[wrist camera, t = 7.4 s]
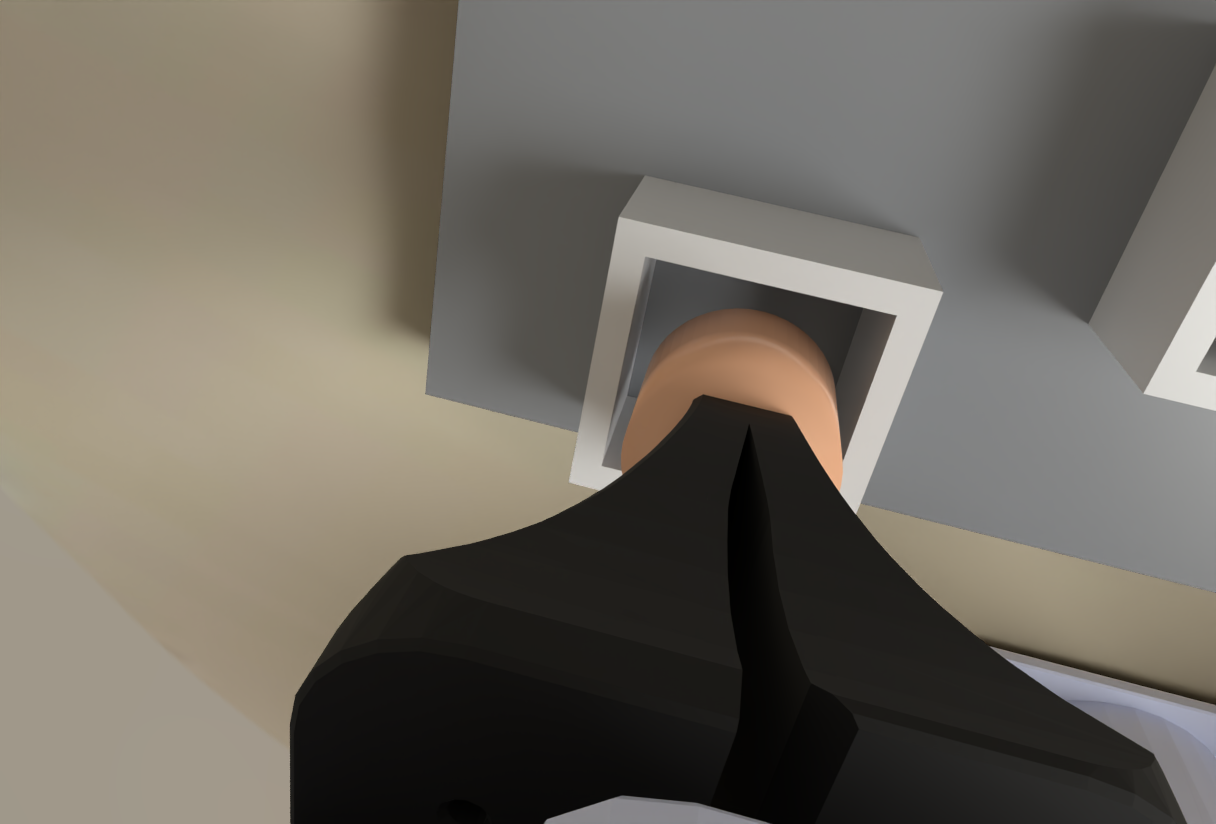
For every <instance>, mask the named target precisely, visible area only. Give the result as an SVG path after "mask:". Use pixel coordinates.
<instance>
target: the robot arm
mask: <svg viewBox="0 0 1216 824" xmlns="http://www.w3.org/2000/svg"><path fill="white" fill-rule="evenodd" d="M290 818H291V819H290V823H291V824H1216V705H1213V704H1210V703H1206V702H1202V701H1198V700H1194V699H1190V698H1187V697H1183V696H1179V695H1175V694H1171V693H1167V692H1163V691H1160V690H1156V689H1152V688H1148V687H1144V686H1140V685H1137V684H1133V683H1129V682H1125V681H1121V680H1117V679H1114V678H1110V677H1106V676H1102V675H1098V674H1094V673H1091V672H1087V671H1083V670H1079V669H1075V668H1071V667H1067V666H1064V665H1060V664H1056V663H1052V662H1048V661H1044V660H1041V659H1037V658H1033V657H1029V656H1025V655H1021V654H1018V653H1014V652H1010V651H1006V650H1002V649H998V648H995V647H991V646H988V645H987V644H985V643H984V642H983V641H981V640H980V639H979V638H978V637H976V636H975V635H974V634H973V633H972V632H971V631H969V630H968V629H967V628H966V627H965V626H964V625H962V624H961V623H960V622H959V621H958V620H956V619H955V618H954V617H953V616H952V615H951V614H949V613H948V612H947V611H946V610H945V609H943V608H942V607H941V606H940V605H939V604H938V603H937V602H936V601H935V600H934V599H932V598H931V597H930V596H929V595H928V594H927V593H926V592H925V591H924V590H923V589H922V588H921V587H920V586H919V585H918V584H917V583H916V582H915V581H914V580H913V579H912V578H911V577H910V576H909V575H908V574H907V573H906V572H905V571H904V570H903V569H902V568H901V567H900V566H899V565H898V564H897V563H896V562H895V561H894V560H893V558H892V557H891V556H890V555H889V554H888V553H887V552H886V551H885V550H884V548H883V547H882V546H881V545H880V544H879V543H878V542H877V540H876V539H875V538H874V537H873V535H872V534H871V533H870V532H869V530H868V529H867V528H866V527H865V525H864V524H863V523H862V522H861V520H860V519H859V518H858V517H857V515H856V514H855V513H854V512H853V510H852V509H851V507H850V506H849V505H848V503H847V502H846V501H845V499H844V498H843V496H842V495H841V494H840V492H839V491H838V489H837V488H836V486H835V485H834V483H833V482H832V480H831V479H830V477H829V476H828V474H827V473H826V471H825V470H824V468H823V467H822V465H821V463H820V462H819V460H818V459H817V457H816V455H815V454H814V452H813V450H812V449H811V447H810V445H809V444H808V442H807V440H806V439H805V437H804V435H803V433H802V432H801V430H800V428H799V427H798V425H797V423H796V422H795V420H794V418H793V417H792V416H790V415H786V414H782V413H778V412H774V411H770V410H765V409H761V408H757V407H753V406H749V405H745V404H741V403H737V402H733V401H729V400H724V399H720V398H716V397H712V396H708V395H704V394H703V395H701V396H699V397H697V398H695V399H693V401H692V404H691V406H690V408H689V409H688V411H687V412H686V414H685V415H684V416H683V418H682V419H681V420H680V421H679V422H678V424H677V425H676V426H675V427H674V428H673V429H672V431H671V432H670V433H669V434H668V435H667V436H666V437H665V438H664V439H663V440H662V441H661V442H660V443H659V444H658V445H657V446H656V447H655V448H654V449H653V450H652V451H650V452H649V453H648V454H647V455H646V456H645V457H644V458H642V459H641V460H640V461H639V462H637V463H636V464H635V465H634V466H633V467H631V468H630V469H629V470H628V471H626V472H625V473H624V474H623V475H621V476H620V477H619V478H617V479H616V480H615V481H613V482H612V483H610V484H609V485H607V486H606V487H604V488H603V489H601V490H600V491H598V492H597V493H595V494H593V495H592V496H590V497H589V498H587V499H585V500H584V501H582V502H580V503H578V504H576V505H575V506H573V507H571V508H569V509H567V510H565V511H563V512H561V513H559V514H557V515H555V516H553V517H550V518H548V519H546V520H544V521H542V522H539V523H537V524H534V525H531V526H528V527H525V528H523V529H520V530H517V531H514V532H511V533H508V534H504V535H501V536H497V537H494V538H491V539H487V540H483V541H480V542H476V543H472V544H467V545H462V546H456V547H451V548H446V549H441V550H436V551H430V552H425V553H420V554H413V555H406V556H403V557H402V558H400V559H399V560H398V561H397V562H396V563H395V564H394V565H393V566H392V568H391V569H390V570H389V571H388V572H387V573H386V574H385V575H384V576H383V577H382V578H381V579H380V580H379V581H378V582H377V583H376V584H375V585H374V587H373V588H372V589H371V590H370V591H369V592H368V593H367V595H366V596H365V597H364V598H363V599H362V600H361V601H360V602H359V603H358V604H357V605H356V606H355V608H354V609H353V610H352V611H351V612H350V614H349V615H348V616H347V617H346V619H345V620H344V621H343V623H342V624H341V625H340V627H339V628H338V629H337V631H336V632H335V634H334V635H333V637H332V639H331V640H330V642H329V643H328V645H327V646H326V648H325V650H324V651H323V653H322V654H321V656H320V657H319V659H318V661H317V662H316V664H315V665H314V667H313V668H312V670H311V672H310V673H309V675H308V676H307V678H306V679H305V681H304V683H303V684H302V686H301V687H300V689H299V690H298V692H297V694H296V695H295V700H294V706H293V711H292V716H291V722H290Z"/></svg>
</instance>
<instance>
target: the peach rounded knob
mask: <svg viewBox="0 0 1216 824" xmlns="http://www.w3.org/2000/svg"><path fill="white" fill-rule="evenodd" d="M703 394H704V395H708V396H712V397H716V398H720V399H724V400H729V401H733V402H737V403H741V404H745V405H749V406H753V407H757V408H761V409H765V410H770V411H774V412H778V413H782V414H786V415H790V416H792V417H793V418H794V420H795V422H796V423H797V425H798V427H799V428H800V430H801V432H802V433H803V435H804V437H805V439H806V440H807V442H808V444H809V445H810V447H811V449H812V450H813V452H814V454H815V455H816V457H817V459H818V460H819V462H820V463H821V465H822V467H823V468H824V470H825V471H826V473H827V474H828V476H829V477H830V479H831V480H832V482H833V483H834V485H835V486H836V488H837V489H838V491H840V488H841V483H842V475H843V460H842V450H841V440H840V430H839V420H838V410H837V401H836V391H835V384H834V378H833V374H832V371H831V368H830V366H829V363H828V361H827V359H826V358H825V356H824V354H823V352H822V351H821V350H820V348H819V347H818V345H817V344H816V343H815V342H814V341H813V340H812V339H811V338H810V337H809V336H808V335H807V334H806V333H805V332H804V331H802V330H801V329H800V328H799V327H797V326H795V325H794V324H792V323H790V322H789V321H787V320H785V319H783V318H780V317H778V316H776V315H773V314H770V313H766V312H763V311H758V310H752V309H738V308H735V309H723V310H718V311H712V312H709V313H706V314H703V315H700V316H697V317H695V318H693V319H691V320H689V321H687V322H685V323H684V324H682V325H681V326H679V327H678V328H676V329H675V330H674V331H673V332H672V333H670V334H669V335H668V336H667V337H666V338H665V340H664V341H663V342H662V343H661V344H660V345H659V347H658V348H657V350H656V351H655V353H654V355H653V357H652V359H651V361H650V363H649V366H648V369H647V371H646V374H645V377H644V380H643V383H642V386H641V389H640V392H639V395H638V398H637V401H636V404H635V407H634V410H633V413H632V416H631V419H630V421H629V424H628V427H627V430H626V434H625V437H624V440H623V444H622V451H621V469H622V475H623V474H624V473H625V472H626V471H628V470H629V469H630V468H631V467H633V466H634V465H635V464H636V463H637V462H639V461H640V460H641V459H642V458H644V457H645V456H646V455H647V454H648V453H649V452H650V451H652V450H653V449H654V448H655V447H656V446H657V445H658V444H659V443H660V442H661V441H662V440H663V439H664V438H665V437H666V436H667V435H668V434H669V433H670V432H671V431H672V429H673V428H674V427H675V426H676V425H677V424H678V422H679V421H680V420H681V419H682V418H683V416H684V415H685V414H686V412H687V411H688V409H689V408H690V406H691V404H692V401H693V399H695V398H697V397H699V396H701V395H703Z"/></svg>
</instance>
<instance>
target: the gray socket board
mask: <svg viewBox="0 0 1216 824" xmlns="http://www.w3.org/2000/svg"><path fill="white" fill-rule="evenodd" d="M735 308H738V309H752V310H758V311H763V312H766V313H770V314H773V315H776V316H778V317H780V318H783V319H785V320H787V321H789V322H790V323H792V324H794V325H795V326H797V327H799V328H800V329H801V330H802V331H804V332H805V333H806V334H807V335H808V336H809V337H810V338H811V339H812V340H813V341H814V342H815V343H816V344H817V345H818V347H819V348H820V350H821V351H822V352H823V354H824V356H825V358H826V359H827V361H828V363H829V366H830V368H831V371H832V374H833V378H834V384H835V391H836V401H837V410H838V420H839V430H840V440H841V450H842V460H843V475H842V483H841V488H840V491H839V492H840V494H841V495H842V496H843V498H844V499H845V501H846V502H847V503H848V505H849V506H850V507H851V509H852V510H853V512H854V513H855V514H856V513H857V511H858V508H859V505H860V503H861V504H865V505H869V506H873V507H877V508H881V509H885V510H889V511H893V512H897V513H901V514H905V515H909V516H913V517H917V518H920V519H924V520H928V521H932V522H936V523H940V524H944V525H948V526H952V527H956V528H960V529H964V530H968V531H972V532H976V533H980V534H984V535H988V536H992V537H996V538H1000V539H1004V540H1008V541H1012V542H1016V543H1020V544H1024V545H1028V546H1032V547H1036V548H1040V549H1044V550H1048V551H1052V552H1056V553H1060V554H1064V555H1068V556H1072V557H1076V558H1080V559H1084V560H1088V561H1092V562H1096V563H1100V564H1104V565H1108V566H1112V567H1116V568H1120V569H1124V570H1128V571H1132V572H1136V573H1140V574H1143V575H1147V576H1151V577H1155V578H1159V579H1163V580H1167V581H1171V582H1175V583H1179V584H1183V585H1187V586H1191V587H1195V588H1199V589H1203V590H1207V591H1211V592H1215V593H1216V0H459V3H458V14H457V26H456V38H455V50H454V62H453V74H452V85H451V97H450V109H449V121H448V133H447V144H446V156H445V168H444V180H443V192H442V204H441V215H440V227H439V239H438V251H437V263H436V274H435V286H434V298H433V310H432V322H431V334H430V345H429V357H428V369H427V381H426V393H425V394H427V395H431V396H435V397H439V398H443V399H447V400H451V401H455V402H459V403H463V404H467V405H471V406H475V407H478V408H482V409H486V410H490V411H494V412H498V413H502V414H506V415H510V416H514V417H518V418H522V419H526V420H530V421H534V422H538V423H542V424H546V425H550V426H554V427H558V428H562V429H566V430H570V431H574V432H578V436H577V441H576V447H575V452H574V457H573V463H572V468H571V473H570V478H569V483H573V484H576V485H580V486H584V487H588V488H592V489H596V490H601V489H603V488H604V487H606V486H607V485H609V484H610V483H612V482H613V481H615V480H616V479H617V478H619V477H620V476H621V475H622V469H621V451H622V444H623V440H624V437H625V434H626V430H627V427H628V424H629V421H630V419H631V416H632V413H633V410H634V407H635V404H636V401H637V398H638V395H639V392H640V389H641V386H642V383H643V380H644V377H645V374H646V371H647V369H648V366H649V363H650V361H651V359H652V357H653V355H654V353H655V351H656V350H657V348H658V347H659V345H660V344H661V343H662V342H663V341H664V340H665V338H666V337H667V336H668V335H669V334H670V333H672V332H673V331H674V330H675V329H676V328H678V327H679V326H681V325H682V324H684V323H685V322H687V321H689V320H691V319H693V318H695V317H697V316H700V315H703V314H706V313H709V312H712V311H718V310H723V309H735Z"/></svg>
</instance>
